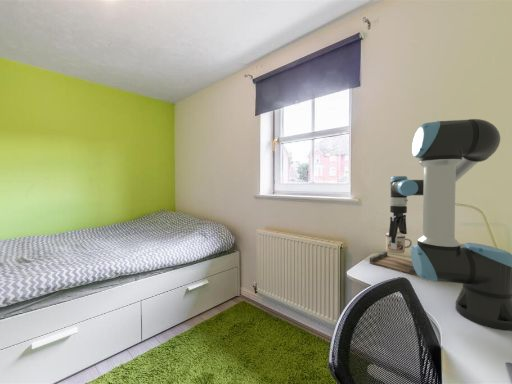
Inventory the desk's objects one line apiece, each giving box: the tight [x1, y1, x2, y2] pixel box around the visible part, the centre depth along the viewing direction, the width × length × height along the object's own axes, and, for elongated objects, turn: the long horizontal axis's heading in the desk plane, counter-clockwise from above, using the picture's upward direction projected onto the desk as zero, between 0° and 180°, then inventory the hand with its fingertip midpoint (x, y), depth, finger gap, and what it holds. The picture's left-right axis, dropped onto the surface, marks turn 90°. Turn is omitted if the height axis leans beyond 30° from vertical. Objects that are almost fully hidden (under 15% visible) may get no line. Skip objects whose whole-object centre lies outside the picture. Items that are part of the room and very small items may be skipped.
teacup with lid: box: [385, 231, 413, 254], centre depth 125 cm, size 12×9×12 cm
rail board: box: [369, 251, 417, 276], centre depth 125 cm, size 18×21×3 cm
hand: (397, 247), depth 125 cm, fingers closed on teacup with lid, 9 cm apart
